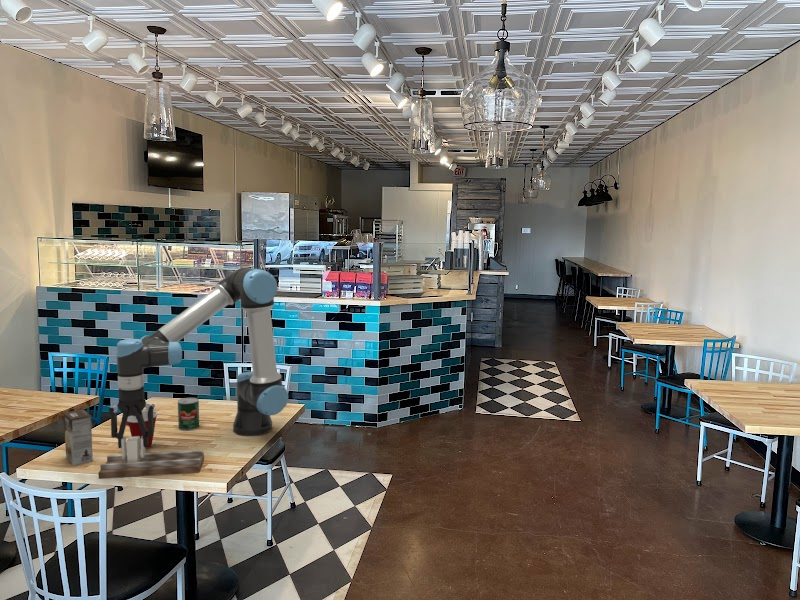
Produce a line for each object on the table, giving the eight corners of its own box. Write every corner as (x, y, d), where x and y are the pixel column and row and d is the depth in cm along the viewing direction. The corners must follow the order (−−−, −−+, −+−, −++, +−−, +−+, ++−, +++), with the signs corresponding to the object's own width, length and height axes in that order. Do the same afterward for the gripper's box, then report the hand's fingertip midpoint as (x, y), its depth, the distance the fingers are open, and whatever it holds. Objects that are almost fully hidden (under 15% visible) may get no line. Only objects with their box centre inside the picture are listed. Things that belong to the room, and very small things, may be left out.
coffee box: (65, 458, 195) (62, 412, 193) (85, 453, 200) (83, 408, 198) (73, 466, 189) (70, 419, 187) (94, 461, 193) (91, 415, 191)
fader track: (203, 458, 197) (203, 448, 197) (198, 472, 186) (198, 462, 185) (110, 463, 192) (109, 453, 191) (98, 478, 180) (98, 467, 179)
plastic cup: (119, 448, 204) (117, 416, 203) (145, 439, 214) (144, 408, 212) (139, 454, 199) (138, 421, 198) (165, 444, 209) (164, 413, 207)
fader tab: (140, 459, 189) (139, 436, 189) (137, 464, 186) (136, 440, 185) (130, 460, 189) (129, 436, 188) (127, 464, 185) (126, 441, 184)
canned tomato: (194, 422, 233) (193, 396, 232) (203, 427, 228) (202, 400, 226) (174, 426, 228) (174, 400, 226) (183, 432, 222) (182, 404, 221)
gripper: (97, 391, 179) (100, 462, 182) (158, 389, 182) (160, 459, 185) (104, 385, 186) (107, 453, 189) (163, 383, 190) (165, 450, 192)
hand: (133, 456), depth 187 cm, fingers open, 5 cm apart
